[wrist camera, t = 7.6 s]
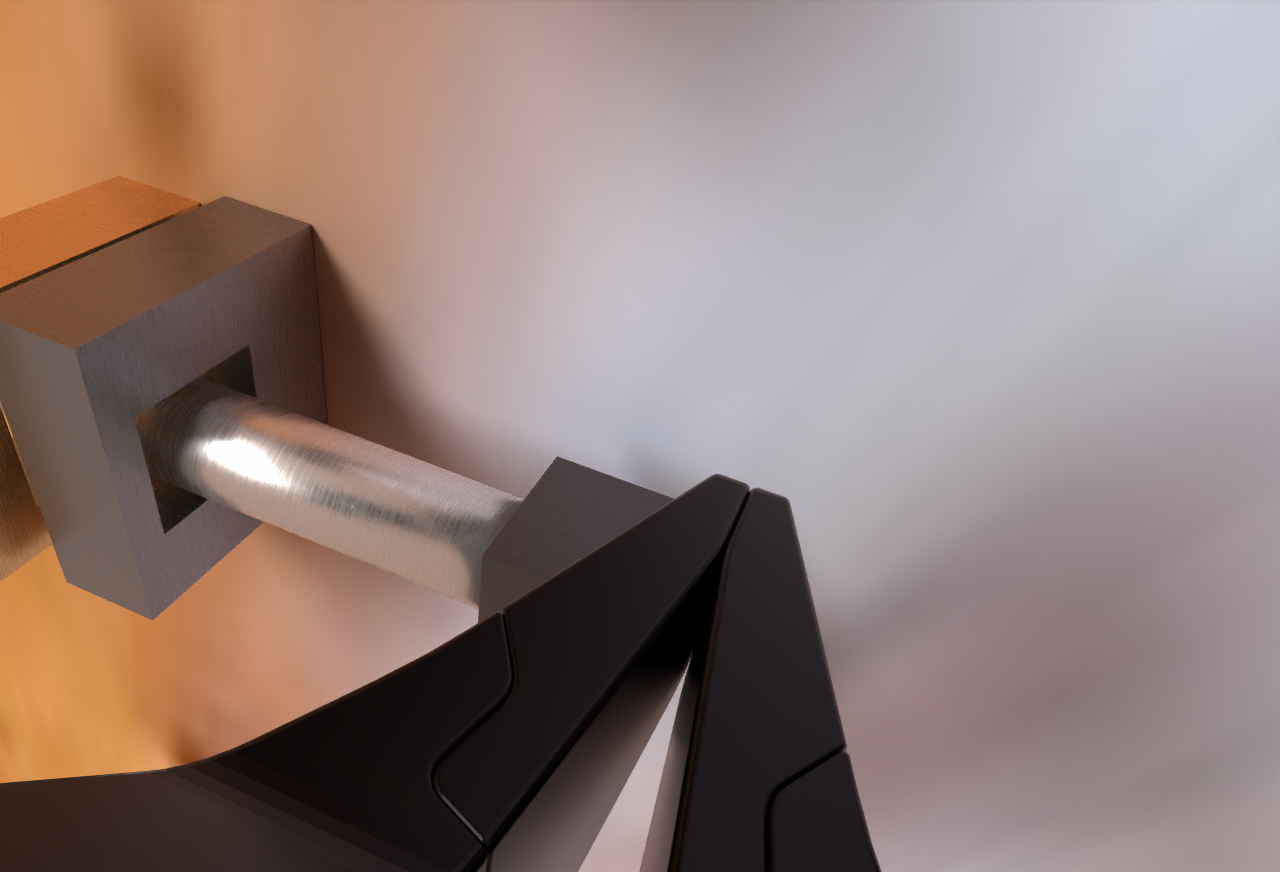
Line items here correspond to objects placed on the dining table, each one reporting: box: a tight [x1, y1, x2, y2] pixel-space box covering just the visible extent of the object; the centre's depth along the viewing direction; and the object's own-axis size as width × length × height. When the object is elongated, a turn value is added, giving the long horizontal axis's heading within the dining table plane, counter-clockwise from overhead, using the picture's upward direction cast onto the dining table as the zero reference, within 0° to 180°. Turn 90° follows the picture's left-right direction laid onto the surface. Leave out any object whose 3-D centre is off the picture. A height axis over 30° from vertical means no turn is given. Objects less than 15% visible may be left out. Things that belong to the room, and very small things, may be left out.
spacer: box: [0, 176, 201, 582], centre depth 25 cm, size 3×8×10 cm, turn 170°
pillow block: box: [0, 197, 327, 620], centre depth 25 cm, size 3×9×8 cm, turn 170°
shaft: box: [0, 377, 674, 623], centre depth 23 cm, size 22×4×4 cm, turn 80°
